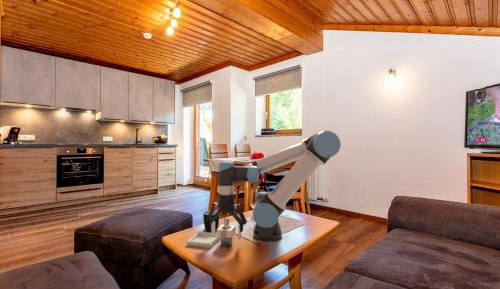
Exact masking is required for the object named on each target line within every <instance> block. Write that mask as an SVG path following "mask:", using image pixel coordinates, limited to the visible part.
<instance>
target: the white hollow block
mask: <svg viewBox="0 0 500 289" xmlns="http://www.w3.org/2000/svg"><path fill="white" fill-rule="evenodd" d="M236 232H237V226H236V225H233V224H232V225H231V224H229V229H224V223H223V224H221V225H220V226H218V229H217V231H216V233H217V237H221V238H222V239H225V238H226V237H227V238H231V237H232V238H233V236H234V235H235V234H236Z"/></svg>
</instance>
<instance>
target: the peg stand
mask: <svg viewBox="0 0 500 289" xmlns="http://www.w3.org/2000/svg"><path fill="white" fill-rule="evenodd" d="M223 221H224V222H223V225H224V229H229V225H230V218H229V217H226V216H225V217H224V219H223ZM220 246H221V247H223V248H229V247H232V246H233V236H232V237H231V238H227V237H226V238H225V239H222V238H221V239H220Z"/></svg>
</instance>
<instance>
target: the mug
mask: <svg viewBox="0 0 500 289" xmlns="http://www.w3.org/2000/svg"><path fill="white" fill-rule="evenodd" d="M210 210H211V209H209V210H205V211H204V212H203V214H202V218H203V226H204V230H205V232H208V233H212V229H210V222H209V221H206V219H207V217H208V215H209V213H210ZM217 211H218V210H216V209H215V210H214V212H213V215H212V217H211V219H212V218H213V216H214V215H215V214H216V213H217ZM213 222H215V232H217V229H218V228H219V225H220V214H219V215H218V216H217V217H216V219H215V220H214V221H213Z"/></svg>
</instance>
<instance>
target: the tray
mask: <svg viewBox="0 0 500 289" xmlns="http://www.w3.org/2000/svg"><path fill="white" fill-rule="evenodd" d="M219 241H221V237H217V232H215V235H214V236H213V237H212V232H207V231H198V232H196V233H195V234H194V235H192V236H191V237H190V238H189V239H187V241H186V246H187V247H194V248H195V247H196V248H205V249H212V248H213V247H214V246H215V245H216V243H218V242H219Z"/></svg>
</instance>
